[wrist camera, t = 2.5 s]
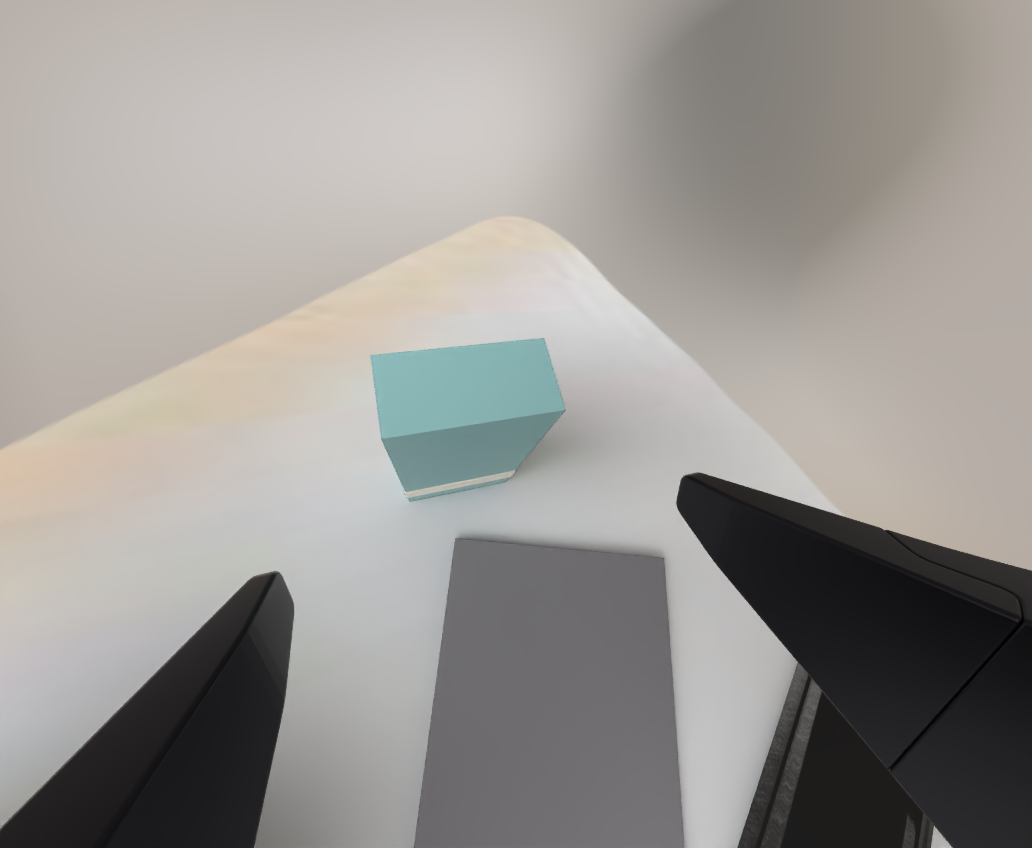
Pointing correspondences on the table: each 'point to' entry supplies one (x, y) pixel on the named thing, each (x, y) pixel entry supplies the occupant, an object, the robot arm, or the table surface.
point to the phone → (828, 785)
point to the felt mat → (552, 704)
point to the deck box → (464, 412)
